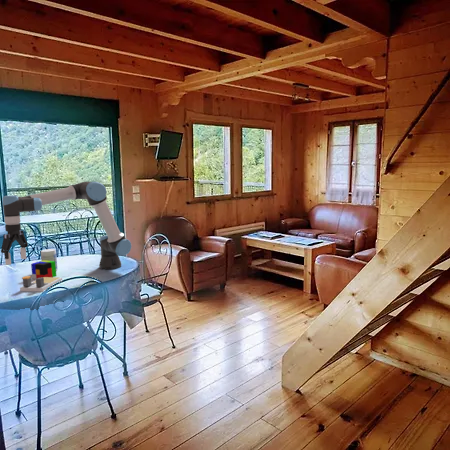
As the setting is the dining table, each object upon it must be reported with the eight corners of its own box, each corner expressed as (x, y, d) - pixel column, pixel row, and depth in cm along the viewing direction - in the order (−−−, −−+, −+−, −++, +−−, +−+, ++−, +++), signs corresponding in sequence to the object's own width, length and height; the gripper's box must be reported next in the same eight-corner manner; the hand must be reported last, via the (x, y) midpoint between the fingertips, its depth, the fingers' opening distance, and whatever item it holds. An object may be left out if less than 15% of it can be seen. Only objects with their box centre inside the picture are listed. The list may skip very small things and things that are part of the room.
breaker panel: (62, 280, 241) (61, 277, 241) (43, 291, 221) (42, 287, 220) (41, 280, 243) (40, 277, 242) (20, 291, 222) (19, 287, 222)
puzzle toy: (32, 278, 247) (31, 263, 246) (44, 274, 256) (43, 260, 255) (44, 280, 244) (43, 265, 242) (56, 276, 253) (55, 261, 251)
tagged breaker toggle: (31, 284, 225) (30, 276, 225) (28, 286, 222) (27, 277, 221) (26, 284, 226) (25, 276, 225) (23, 286, 223) (22, 277, 222)
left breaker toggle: (44, 285, 224) (43, 277, 224) (41, 286, 221) (40, 279, 221) (39, 285, 225) (38, 277, 224) (36, 286, 222) (35, 279, 221)
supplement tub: (58, 271, 264) (57, 250, 262) (43, 273, 259) (41, 252, 256) (56, 268, 272) (54, 248, 270) (41, 270, 267) (39, 250, 264)
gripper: (20, 220, 224) (23, 256, 227) (-10, 227, 199) (-6, 267, 203) (32, 220, 223) (35, 256, 226) (3, 227, 199) (7, 267, 202)
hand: (16, 261), depth 214 cm, fingers open, 12 cm apart
